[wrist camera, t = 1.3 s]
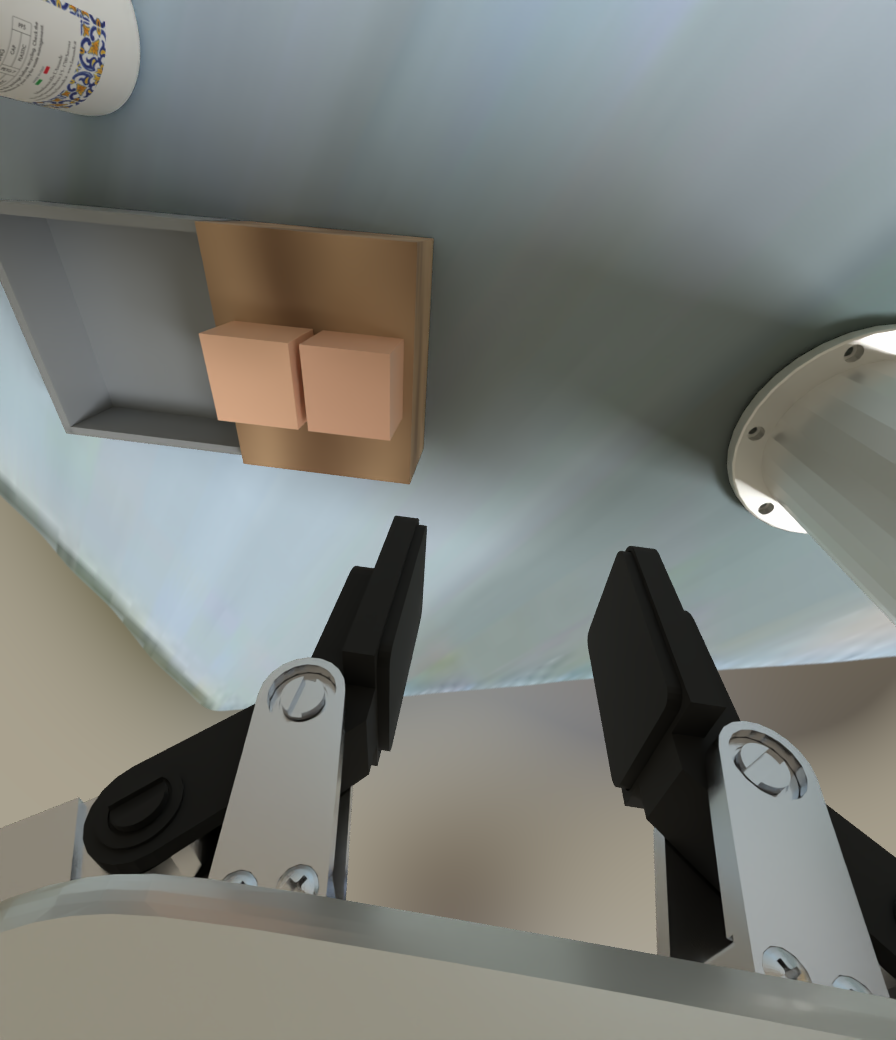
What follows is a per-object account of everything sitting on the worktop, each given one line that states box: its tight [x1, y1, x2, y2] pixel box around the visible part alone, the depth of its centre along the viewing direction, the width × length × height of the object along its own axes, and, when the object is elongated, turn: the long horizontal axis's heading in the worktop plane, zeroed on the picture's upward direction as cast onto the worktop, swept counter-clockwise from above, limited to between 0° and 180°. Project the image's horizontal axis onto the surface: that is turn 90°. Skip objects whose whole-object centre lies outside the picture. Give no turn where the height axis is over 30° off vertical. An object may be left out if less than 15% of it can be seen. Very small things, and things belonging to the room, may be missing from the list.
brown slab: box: [195, 221, 434, 484], centre depth 25 cm, size 10×12×5 cm
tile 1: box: [299, 330, 404, 441], centre depth 22 cm, size 4×4×3 cm
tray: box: [0, 200, 242, 455], centre depth 26 cm, size 12×12×4 cm
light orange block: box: [199, 321, 314, 430], centre depth 22 cm, size 4×4×3 cm
